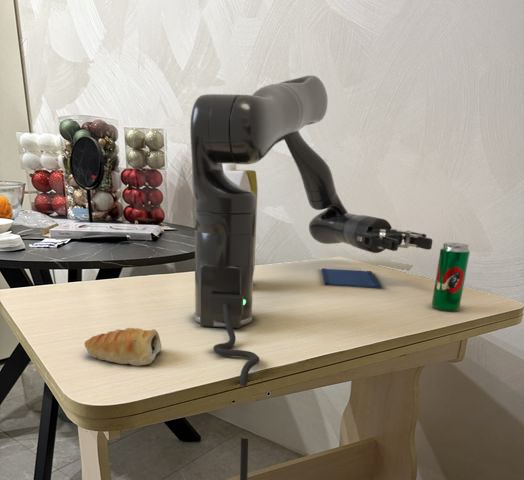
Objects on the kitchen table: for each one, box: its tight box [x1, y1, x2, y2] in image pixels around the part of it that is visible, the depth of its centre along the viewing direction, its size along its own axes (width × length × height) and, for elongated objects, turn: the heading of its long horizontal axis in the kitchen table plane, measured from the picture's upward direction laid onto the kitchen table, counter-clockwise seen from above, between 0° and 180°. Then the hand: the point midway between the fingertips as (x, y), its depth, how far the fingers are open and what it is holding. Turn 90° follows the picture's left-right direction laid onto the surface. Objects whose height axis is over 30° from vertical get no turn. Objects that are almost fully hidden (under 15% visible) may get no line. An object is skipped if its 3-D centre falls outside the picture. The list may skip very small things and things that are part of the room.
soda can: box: [431, 242, 471, 312], centre depth 96 cm, size 5×5×12 cm
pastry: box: [84, 327, 162, 367], centre depth 67 cm, size 9×7×4 cm
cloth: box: [321, 267, 382, 289], centre depth 119 cm, size 16×12×1 cm
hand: (414, 245), depth 104 cm, fingers open, 8 cm apart
